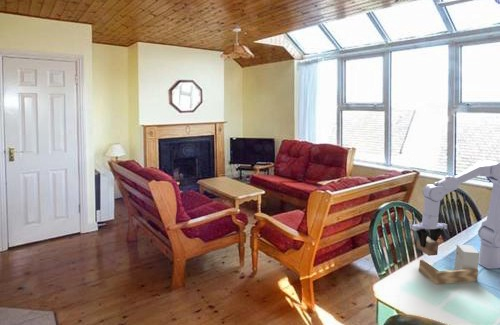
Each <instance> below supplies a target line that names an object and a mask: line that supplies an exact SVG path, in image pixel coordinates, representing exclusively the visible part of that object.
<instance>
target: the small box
mask: <svg viewBox="0 0 500 325" xmlns="http://www.w3.org/2000/svg"><path fill="white" fill-rule="evenodd" d="M479 254H480V251H478V250H477V249H476V248H474V246H473V245H468V244H458V243H457V245H456V249H455V258H454V269H453V270H463V269H477V270H478V271H479V264H478V262H479Z"/></svg>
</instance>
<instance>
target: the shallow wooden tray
mask: <svg viewBox="0 0 500 325" xmlns="http://www.w3.org/2000/svg"><path fill="white" fill-rule="evenodd" d="M418 271H419V272H420V273H421V274H423V275H424V276H426V277H427V278H428V279H429V280H431V281H432V282H434V284H435V285H444V284H457V283H470V282H477V281H478V277H479V276H478V275H479V269H478V270H477V269H463V270H455V269H452V270H451V269H450V270H449V269H448V270H438V269H437V268H435V267H434V266H432V265H431V264H429V263H428V262H427V261H425V260H424V259H419V266H418Z"/></svg>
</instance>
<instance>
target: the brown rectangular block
mask: <svg viewBox="0 0 500 325" xmlns="http://www.w3.org/2000/svg"><path fill="white" fill-rule="evenodd" d="M416 249H418V250H419V251H421V252H422V253H424V254H426V255H427V256H428V257H429V256H437V255H438V252H439V242H438V241H437V242H436V241H435V240H433V239H431V238H430V236H429V235H428V236H427V239H426V245H425V247H422V246H420V240H419V236H418V235H417V239H416Z"/></svg>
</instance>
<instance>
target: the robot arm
mask: <svg viewBox="0 0 500 325" xmlns="http://www.w3.org/2000/svg"><path fill="white" fill-rule="evenodd" d="M477 177H486V178H487V179H489V180H490V181H491V183H492V188H491V194H490V200H489V205H488V210H487V215H486V220H484V221H482V222H481V225H480V227H479V229H478V231H477V235H478V237H479V239H480V240H479V241H480V247H479V262H478V265H480V266H482V267H483V268H485V269H488V270H489V269H500V162H499V161H495V160H490V159H488V158H487V159H486V158H484V159H481V160H479V161H477V162H475V163H474V165H473V166H470V167H469V168H467V169H465V170H463V171H462V172H460V173H458V174H457V175H455V176H454V175H446V176H444V178H442V179H440V180H438V181H434V182H433V184H430V183H429V184H428V183H427V184H426V185H424V186H423V189H422V190H421V194H422V196H423V200H424V201H423V210H422V220H421V222H419V223H415V224H412V225H411V230H412V231H414V232H416V234H417V237H418V236H419V240H420V246H422V247H425V245H426V239H427V236H428V237H429V238H431V239H433V240H435V241H436V242H438V241H439V240H438V239H439V238H440V237H441V235H443V230H448V229H447V228H448V224H447V223H444V222H443V223H442V222H439V214H440V205H441V201H442V200H443V199H444V197H445V196H446V195H447V194H449V193H451V192H453V191H455V190H458V189H459V188H460V185H461V184H463V183H466V182H468V181H471V180H472V179H475V178H477ZM427 230H429V232H428V231H427Z"/></svg>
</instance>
